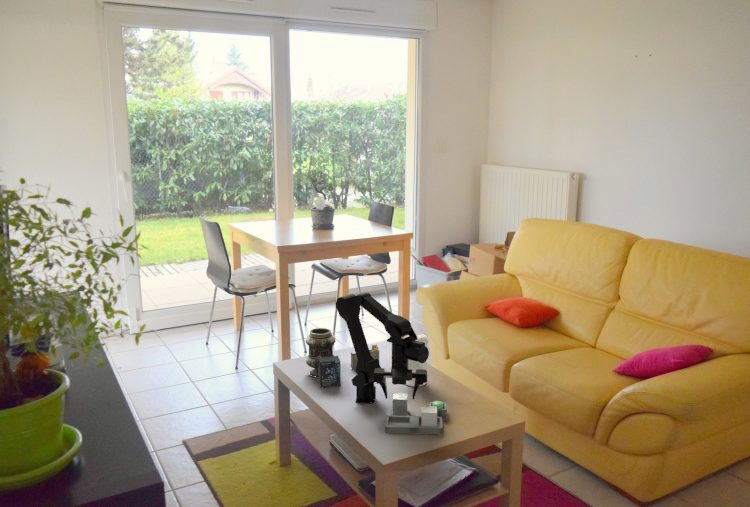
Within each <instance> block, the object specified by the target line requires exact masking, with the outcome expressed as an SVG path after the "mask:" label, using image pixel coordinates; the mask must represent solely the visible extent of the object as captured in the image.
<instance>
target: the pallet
mask: <svg viewBox="0 0 750 507" xmlns="http://www.w3.org/2000/svg"><path fill="white" fill-rule="evenodd" d="M385 417H386V419H385V426H384V433H387V434H391V433H392V434H415V435H416V434H417V435H418V434H420V435H422V434H423V435H424V434H425V435H443V430H444V429H443V419H442V417H437V406H429V405H426V406H425V405H421V416H420V415H407V416H395V415H393V414H392V415H389V414H388V415H386V416H385Z"/></svg>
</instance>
